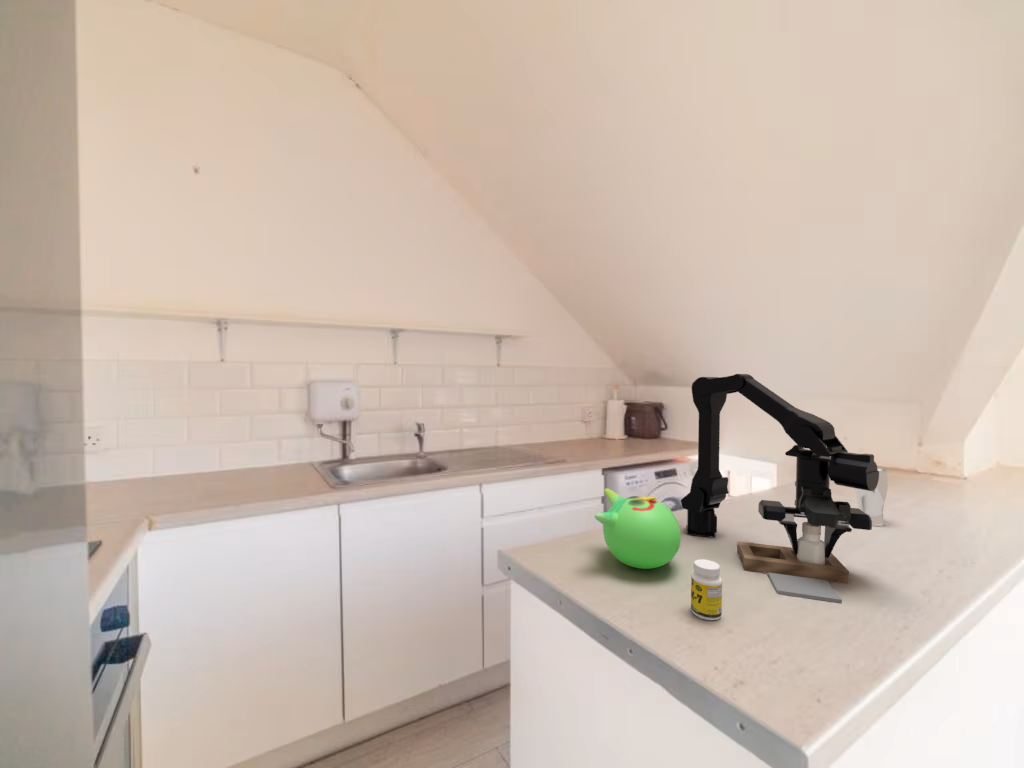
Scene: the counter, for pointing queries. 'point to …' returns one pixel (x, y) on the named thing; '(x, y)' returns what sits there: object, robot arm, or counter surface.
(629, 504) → the toy bird
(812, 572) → the wooden compartment tray
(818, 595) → the rubber pad
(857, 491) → the beer glass
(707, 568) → the supplement bottle
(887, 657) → the counter surface
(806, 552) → the pepper shaker
